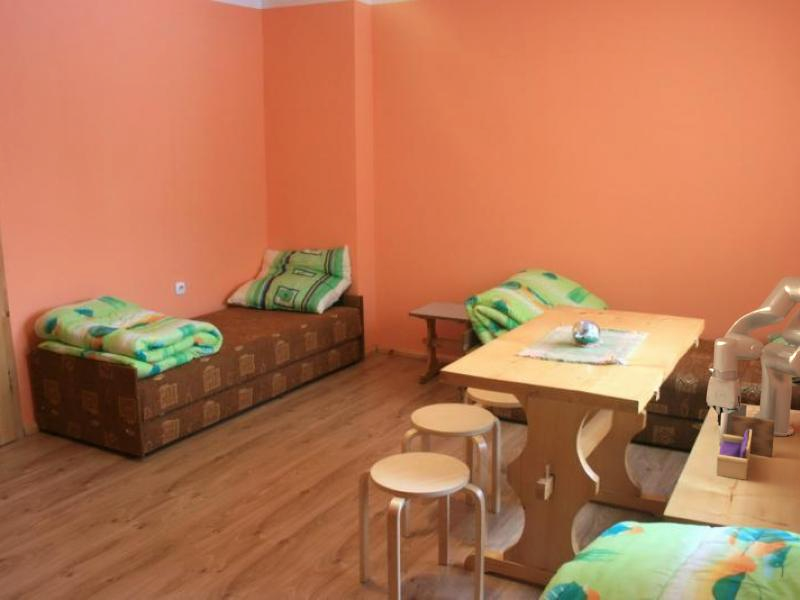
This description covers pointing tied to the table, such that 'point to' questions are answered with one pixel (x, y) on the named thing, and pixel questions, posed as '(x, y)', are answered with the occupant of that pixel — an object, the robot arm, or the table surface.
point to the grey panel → (727, 418)
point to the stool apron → (755, 433)
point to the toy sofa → (734, 455)
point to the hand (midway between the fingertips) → (722, 424)
